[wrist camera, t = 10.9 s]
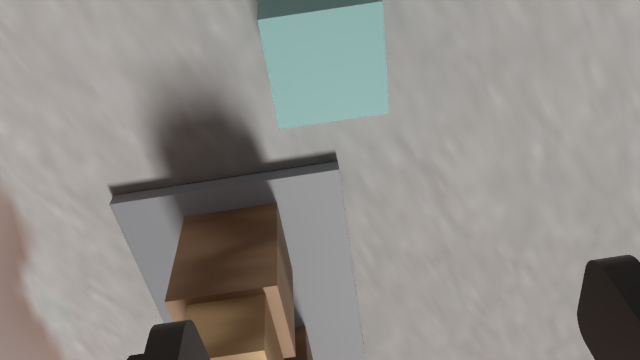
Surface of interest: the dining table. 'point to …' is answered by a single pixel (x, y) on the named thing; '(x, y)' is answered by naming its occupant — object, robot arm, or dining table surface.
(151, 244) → the board
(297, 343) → the pillar
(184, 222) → the pillar
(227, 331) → the plank
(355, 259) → the dining table surface
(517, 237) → the dining table surface
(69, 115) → the dining table surface
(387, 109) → the cube
